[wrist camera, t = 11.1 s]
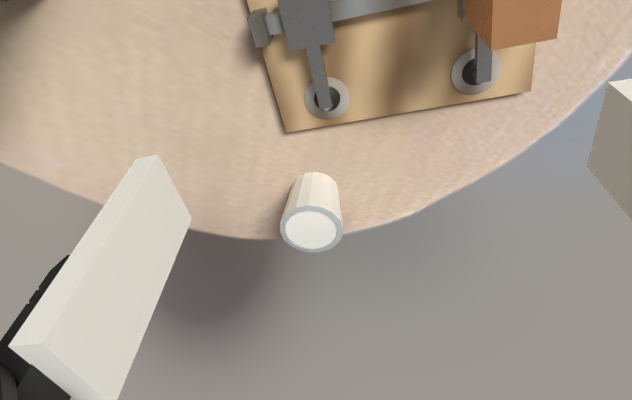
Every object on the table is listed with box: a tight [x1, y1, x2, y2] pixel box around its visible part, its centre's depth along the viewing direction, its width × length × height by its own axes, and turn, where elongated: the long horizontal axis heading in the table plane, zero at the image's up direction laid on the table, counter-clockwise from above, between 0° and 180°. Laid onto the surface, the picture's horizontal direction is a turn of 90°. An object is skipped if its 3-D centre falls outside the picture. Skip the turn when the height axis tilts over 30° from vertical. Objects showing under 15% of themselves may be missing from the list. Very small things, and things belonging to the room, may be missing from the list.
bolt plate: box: [247, 0, 536, 133], centre depth 36 cm, size 24×14×4 cm, turn 103°
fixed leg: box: [277, 0, 336, 111], centre depth 36 cm, size 4×11×2 cm, turn 13°
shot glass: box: [280, 172, 343, 253], centre depth 46 cm, size 7×7×7 cm
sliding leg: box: [457, 0, 562, 84], centre depth 30 cm, size 4×11×11 cm, turn 13°
